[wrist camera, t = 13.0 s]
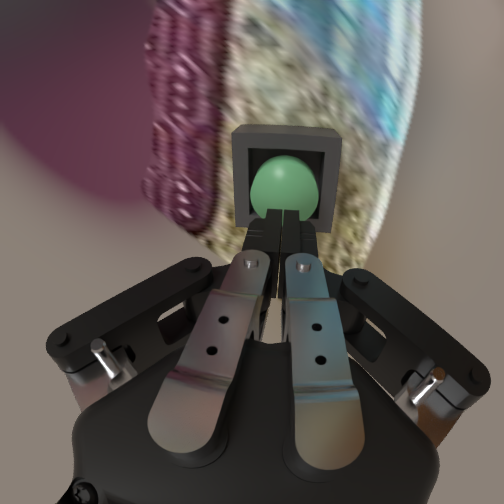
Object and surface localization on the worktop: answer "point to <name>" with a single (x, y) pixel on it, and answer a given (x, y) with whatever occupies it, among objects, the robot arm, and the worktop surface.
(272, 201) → the button
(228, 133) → the worktop surface
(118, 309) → the robot arm
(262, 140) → the button housing
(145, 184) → the worktop surface
